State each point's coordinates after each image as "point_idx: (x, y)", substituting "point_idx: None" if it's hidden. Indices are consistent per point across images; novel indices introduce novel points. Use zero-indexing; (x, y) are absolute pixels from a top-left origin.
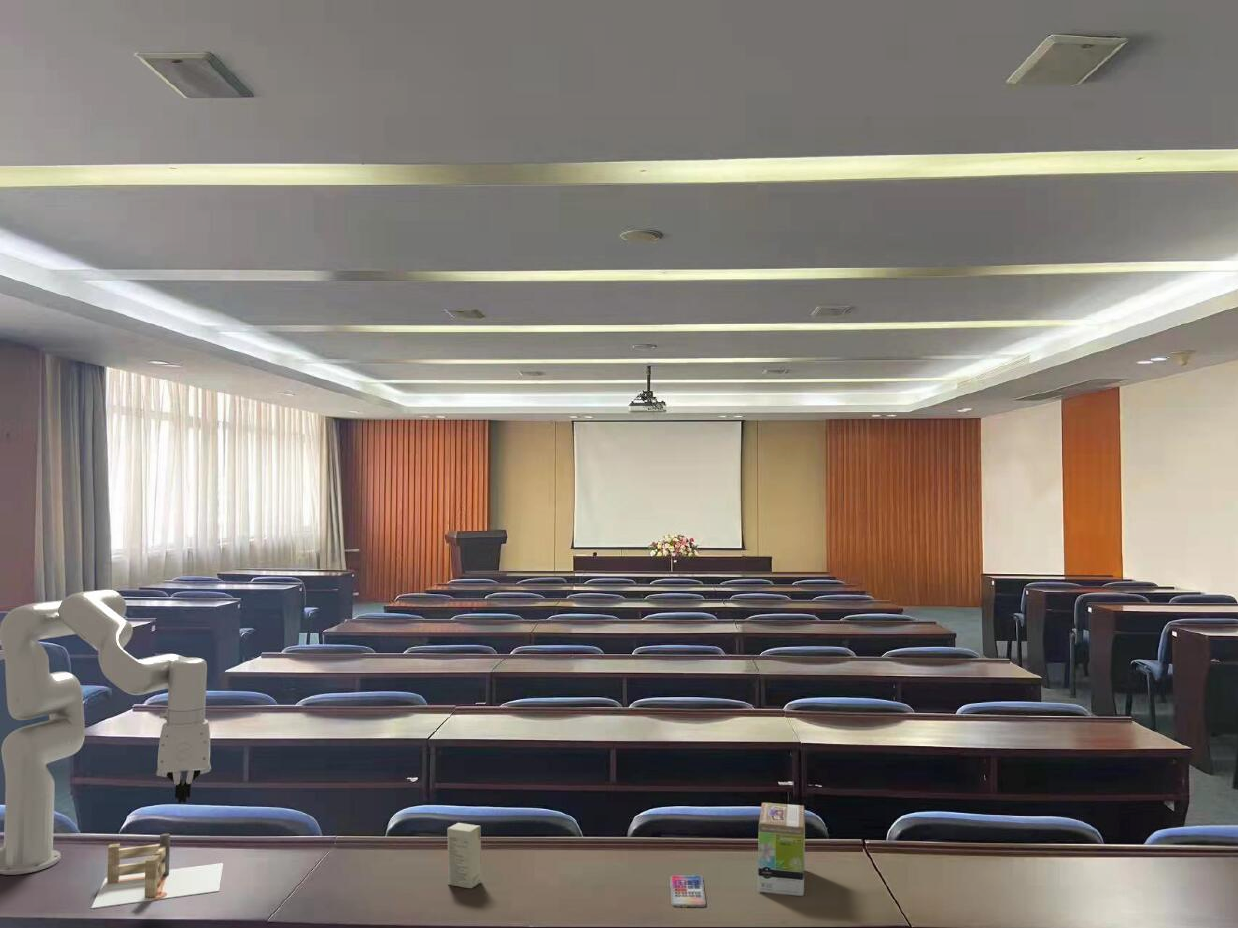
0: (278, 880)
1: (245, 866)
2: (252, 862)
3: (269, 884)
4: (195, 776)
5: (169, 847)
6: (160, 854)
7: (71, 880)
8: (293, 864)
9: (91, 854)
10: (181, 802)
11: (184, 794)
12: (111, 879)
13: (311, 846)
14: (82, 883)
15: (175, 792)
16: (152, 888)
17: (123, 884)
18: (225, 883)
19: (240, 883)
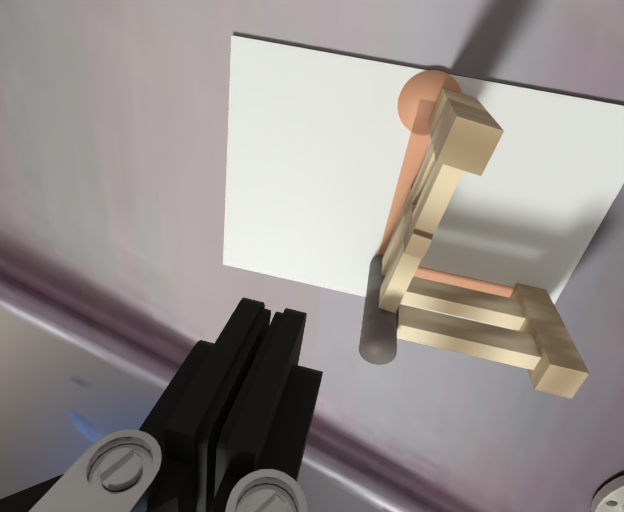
0: (51, 34)
1: (164, 212)
2: (148, 230)
3: (74, 10)
4: (18, 508)
5: (364, 312)
6: (410, 237)
7: (619, 371)
8: (32, 151)
9: (519, 481)
10: (279, 313)
11: (232, 347)
12: (538, 293)
13: (12, 254)
14: (601, 336)
15: (310, 410)
16: (454, 95)
17: (504, 261)
18: (214, 104)
19: (168, 76)
